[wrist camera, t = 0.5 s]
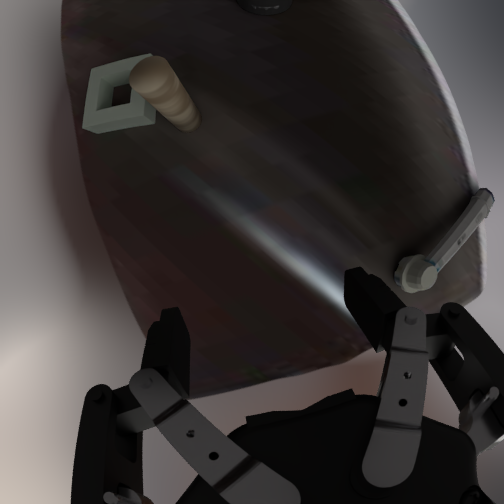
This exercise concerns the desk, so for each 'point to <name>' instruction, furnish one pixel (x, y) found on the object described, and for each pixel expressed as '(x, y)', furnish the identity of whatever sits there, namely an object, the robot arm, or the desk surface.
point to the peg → (165, 92)
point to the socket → (101, 94)
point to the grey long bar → (443, 246)
